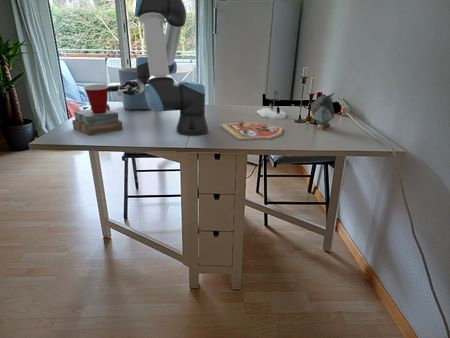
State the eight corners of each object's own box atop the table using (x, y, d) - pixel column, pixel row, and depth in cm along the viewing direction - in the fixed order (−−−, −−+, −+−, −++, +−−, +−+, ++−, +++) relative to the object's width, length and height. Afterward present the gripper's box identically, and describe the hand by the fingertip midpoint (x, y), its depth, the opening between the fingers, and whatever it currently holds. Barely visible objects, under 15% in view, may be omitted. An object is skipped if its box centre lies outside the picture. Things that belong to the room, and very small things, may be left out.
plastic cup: (81, 112, 138) (77, 85, 134) (99, 109, 147) (96, 83, 143) (99, 115, 134) (95, 88, 130) (116, 111, 143) (114, 85, 139)
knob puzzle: (217, 126, 159) (217, 118, 157) (267, 123, 169) (268, 115, 167) (239, 142, 134) (240, 132, 132) (296, 138, 144) (298, 129, 142)
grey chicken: (300, 127, 162) (305, 92, 155) (316, 123, 172) (321, 91, 165) (324, 133, 152) (330, 96, 145) (339, 128, 162) (346, 94, 155)
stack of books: (122, 129, 145) (121, 112, 142) (89, 135, 133) (87, 117, 130) (105, 123, 154) (103, 107, 151) (73, 128, 143) (70, 111, 140)
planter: (159, 110, 188) (158, 71, 179) (121, 111, 182) (117, 70, 173) (157, 104, 208) (155, 68, 199) (122, 104, 202) (119, 67, 193)
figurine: (254, 110, 197) (257, 84, 189) (282, 111, 198) (286, 86, 190) (259, 120, 179) (262, 92, 172) (289, 121, 180) (293, 94, 173)
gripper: (154, 96, 161) (128, 102, 142) (115, 92, 168) (86, 97, 150) (153, 82, 158) (127, 86, 139) (114, 78, 166) (84, 82, 147)
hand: (106, 92), depth 145 cm, fingers open, 13 cm apart
